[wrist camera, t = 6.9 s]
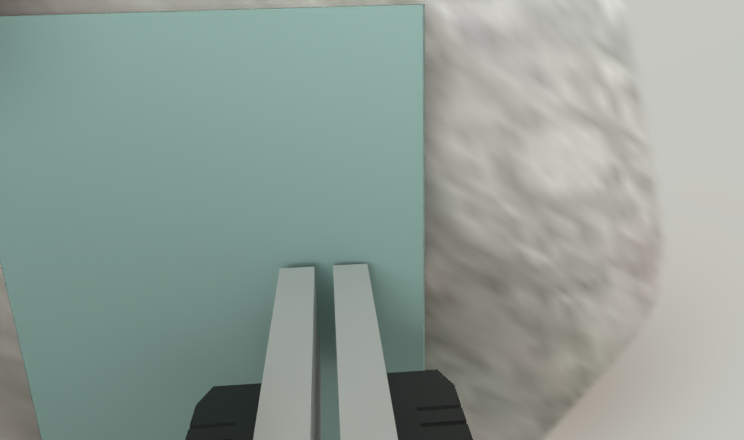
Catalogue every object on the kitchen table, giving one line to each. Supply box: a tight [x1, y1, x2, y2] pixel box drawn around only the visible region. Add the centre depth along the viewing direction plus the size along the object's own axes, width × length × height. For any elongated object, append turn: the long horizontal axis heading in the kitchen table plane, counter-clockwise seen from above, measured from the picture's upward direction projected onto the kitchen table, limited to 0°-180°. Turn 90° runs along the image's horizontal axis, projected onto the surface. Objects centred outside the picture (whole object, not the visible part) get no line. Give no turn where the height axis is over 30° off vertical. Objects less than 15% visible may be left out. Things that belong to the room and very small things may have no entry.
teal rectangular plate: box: [0, 4, 425, 440], centre depth 16 cm, size 1×13×10 cm
